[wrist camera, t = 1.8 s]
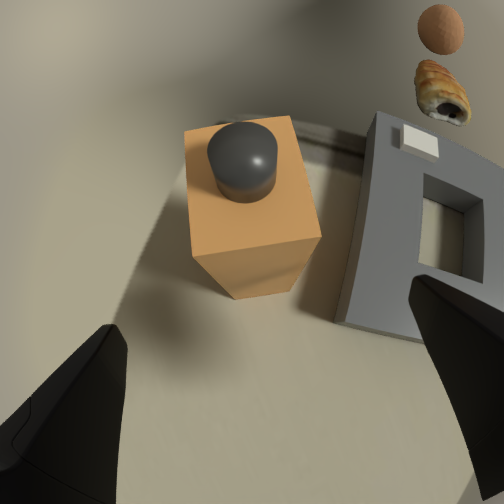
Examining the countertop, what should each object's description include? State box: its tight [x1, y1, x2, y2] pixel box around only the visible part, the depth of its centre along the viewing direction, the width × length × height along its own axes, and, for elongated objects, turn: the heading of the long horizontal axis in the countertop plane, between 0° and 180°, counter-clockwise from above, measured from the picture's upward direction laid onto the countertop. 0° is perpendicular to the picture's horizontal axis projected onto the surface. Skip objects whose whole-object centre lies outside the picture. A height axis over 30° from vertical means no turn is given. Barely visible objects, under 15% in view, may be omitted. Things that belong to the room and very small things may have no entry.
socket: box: [333, 111, 504, 344], centre depth 18 cm, size 16×14×4 cm
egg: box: [418, 5, 464, 55], centre depth 22 cm, size 6×6×8 cm
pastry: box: [414, 60, 471, 126], centre depth 22 cm, size 9×7×4 cm
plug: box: [184, 116, 322, 300], centre depth 13 cm, size 4×4×13 cm
